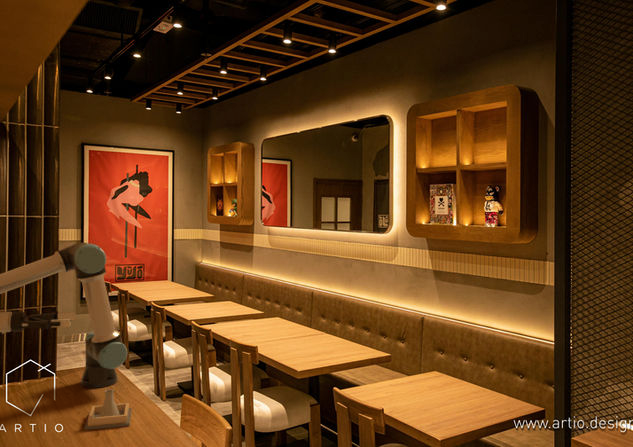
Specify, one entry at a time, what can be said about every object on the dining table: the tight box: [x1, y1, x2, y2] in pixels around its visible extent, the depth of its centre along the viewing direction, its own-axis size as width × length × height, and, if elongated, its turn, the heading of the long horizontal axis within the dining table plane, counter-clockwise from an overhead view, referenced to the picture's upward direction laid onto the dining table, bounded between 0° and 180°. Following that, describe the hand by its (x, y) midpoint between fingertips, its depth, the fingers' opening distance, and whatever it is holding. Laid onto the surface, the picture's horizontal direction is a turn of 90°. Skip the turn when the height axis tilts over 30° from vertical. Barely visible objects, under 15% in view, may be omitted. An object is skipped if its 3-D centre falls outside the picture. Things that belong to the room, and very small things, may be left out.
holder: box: [84, 402, 133, 431], centre depth 194 cm, size 15×15×4 cm
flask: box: [99, 388, 120, 417], centre depth 194 cm, size 7×7×10 cm
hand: (73, 319), depth 204 cm, fingers open, 13 cm apart
